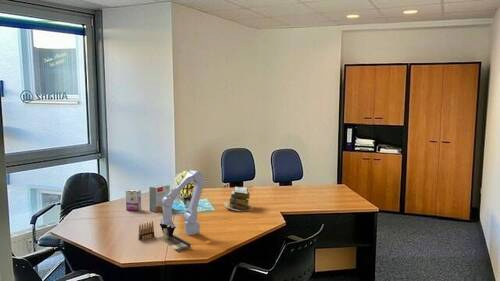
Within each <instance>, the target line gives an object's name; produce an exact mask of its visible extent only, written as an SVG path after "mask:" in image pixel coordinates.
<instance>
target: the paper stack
mask: <svg viewBox="0 0 500 281" xmlns="http://www.w3.org/2000/svg"><path fill="white" fill-rule="evenodd" d="M230 195H231V196H230V198H229V200H228V201H225V202H223V206H224V207H226V209H229V210H232V211H237V212H251V211H253V210H254V206H253V205H251V204H249V202H250V200H249V199H250V191H249V189H248V187H247V186H246V187H238V186H234V190H231V194H230Z"/></svg>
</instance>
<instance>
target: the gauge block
mask: <svg viewBox="0 0 500 281" xmlns="http://www.w3.org/2000/svg"><path fill="white" fill-rule="evenodd" d="M162 234H163V236H164V238H165V239H169V235H168V230H167V228H164V229H163V231H162ZM170 238H172V237H170Z"/></svg>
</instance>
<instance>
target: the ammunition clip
mask: <svg viewBox="0 0 500 281" xmlns="http://www.w3.org/2000/svg"><path fill="white" fill-rule="evenodd" d="M154 237H155V226H154V221H153V220H152V221H149V222H148V221H147V222H146V223H145V222H144V223H142V224H138V237H137V238H138V241H142V240H147V239H149V238H154Z"/></svg>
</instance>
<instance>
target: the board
mask: <svg viewBox="0 0 500 281" xmlns="http://www.w3.org/2000/svg"><path fill="white" fill-rule="evenodd" d="M157 239H158V240H160V241H162V242H164V243H165V244H167V245H169V246H170V247H172V248H174V249H173V251H175V252H176V253H179V252H183V251H186V250H191V248H192V246H191V243H190V242H188V241H186V240H184V239H182V238H180V237H179V236H176V235H175V234H173V236H172V238H169V239H165V238H164V235H163V236H159V237H157Z"/></svg>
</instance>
